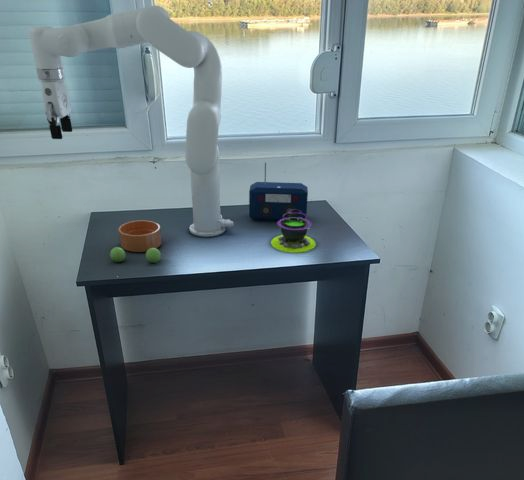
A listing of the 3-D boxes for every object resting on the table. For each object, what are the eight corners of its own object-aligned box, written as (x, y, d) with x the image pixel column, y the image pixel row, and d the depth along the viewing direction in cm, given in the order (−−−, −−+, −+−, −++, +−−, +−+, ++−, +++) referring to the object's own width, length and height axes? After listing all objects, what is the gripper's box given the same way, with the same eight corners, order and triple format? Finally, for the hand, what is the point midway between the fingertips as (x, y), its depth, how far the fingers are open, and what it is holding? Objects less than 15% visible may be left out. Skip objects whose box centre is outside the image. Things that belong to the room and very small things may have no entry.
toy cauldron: (324, 243, 175) (327, 211, 169) (296, 256, 166) (298, 224, 160) (290, 231, 184) (292, 200, 177) (261, 243, 175) (262, 211, 168)
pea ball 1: (127, 258, 163) (125, 244, 161) (124, 264, 160) (122, 251, 157) (113, 258, 163) (111, 244, 161) (109, 264, 160) (107, 250, 157)
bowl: (164, 237, 177) (163, 220, 174) (157, 253, 166) (156, 236, 163) (126, 236, 177) (123, 219, 174) (116, 253, 166) (114, 235, 163)
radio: (249, 221, 191) (249, 166, 179) (250, 213, 198) (250, 159, 186) (305, 223, 190) (309, 167, 178) (305, 214, 197) (309, 160, 186)
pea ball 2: (162, 259, 163) (161, 245, 161) (160, 265, 160) (158, 251, 157) (148, 258, 163) (146, 245, 161) (145, 265, 160) (143, 251, 157)
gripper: (53, 79, 148) (65, 142, 158) (72, 71, 162) (82, 129, 172) (27, 78, 148) (40, 141, 158) (48, 70, 162) (59, 128, 172)
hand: (62, 135), depth 165 cm, fingers open, 9 cm apart
